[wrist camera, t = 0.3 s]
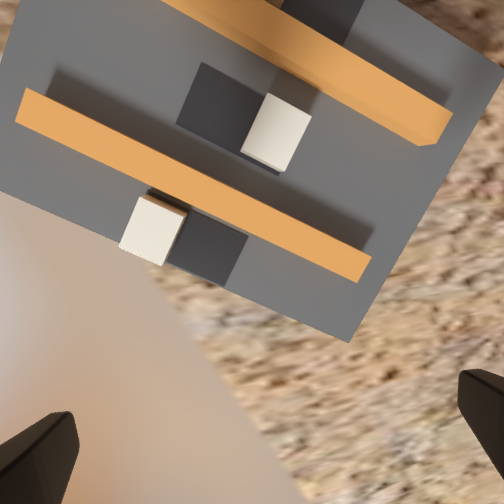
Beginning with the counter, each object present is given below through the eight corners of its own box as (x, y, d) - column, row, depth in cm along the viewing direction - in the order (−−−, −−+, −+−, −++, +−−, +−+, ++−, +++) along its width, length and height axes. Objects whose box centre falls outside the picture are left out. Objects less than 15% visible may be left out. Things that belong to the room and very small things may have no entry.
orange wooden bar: (360, 250, 17) (371, 256, 16) (346, 274, 17) (356, 283, 16) (44, 95, 15) (26, 87, 13) (34, 126, 15) (14, 121, 14)
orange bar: (434, 118, 16) (453, 113, 15) (418, 146, 16) (435, 143, 15) (104, -76, 13) (90, -104, 12) (91, -40, 14) (76, -63, 12)
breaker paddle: (303, 122, 15) (311, 116, 14) (279, 171, 16) (284, 171, 14) (263, 100, 15) (267, 92, 14) (240, 151, 15) (241, 149, 14)
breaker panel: (463, 86, 19) (537, 59, 14) (332, 319, 21) (360, 358, 17) (111, -130, 16) (64, -253, 11) (6, 174, 18) (-66, 175, 14)
